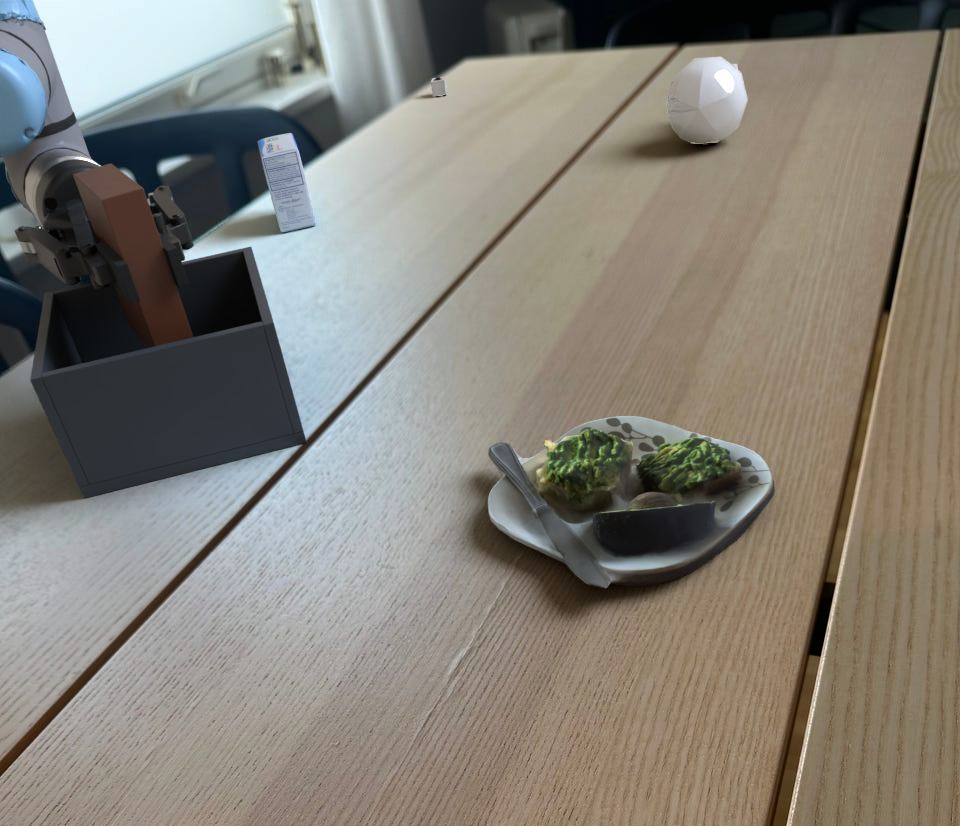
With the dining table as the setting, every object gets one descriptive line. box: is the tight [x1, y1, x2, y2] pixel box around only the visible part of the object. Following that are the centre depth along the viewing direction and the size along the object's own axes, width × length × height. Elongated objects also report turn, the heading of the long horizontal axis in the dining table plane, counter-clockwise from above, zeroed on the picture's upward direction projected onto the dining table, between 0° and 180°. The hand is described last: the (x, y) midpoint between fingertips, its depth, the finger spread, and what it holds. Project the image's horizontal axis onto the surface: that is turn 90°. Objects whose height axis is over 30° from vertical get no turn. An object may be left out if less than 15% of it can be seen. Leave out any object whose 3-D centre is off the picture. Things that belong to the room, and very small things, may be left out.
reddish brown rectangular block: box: [73, 163, 193, 348], centre depth 77 cm, size 3×9×12 cm, turn 30°
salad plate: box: [487, 415, 776, 589], centre depth 67 cm, size 19×18×5 cm
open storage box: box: [29, 246, 307, 499], centre depth 83 cm, size 18×18×10 cm
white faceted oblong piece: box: [665, 56, 749, 143], centre depth 123 cm, size 9×10×15 cm
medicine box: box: [257, 132, 317, 233], centre depth 119 cm, size 8×4×9 cm, turn 13°
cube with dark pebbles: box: [430, 76, 448, 97], centre depth 158 cm, size 2×2×2 cm
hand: (153, 275), depth 73 cm, fingers closed on reddish brown rectangular block, 3 cm apart
